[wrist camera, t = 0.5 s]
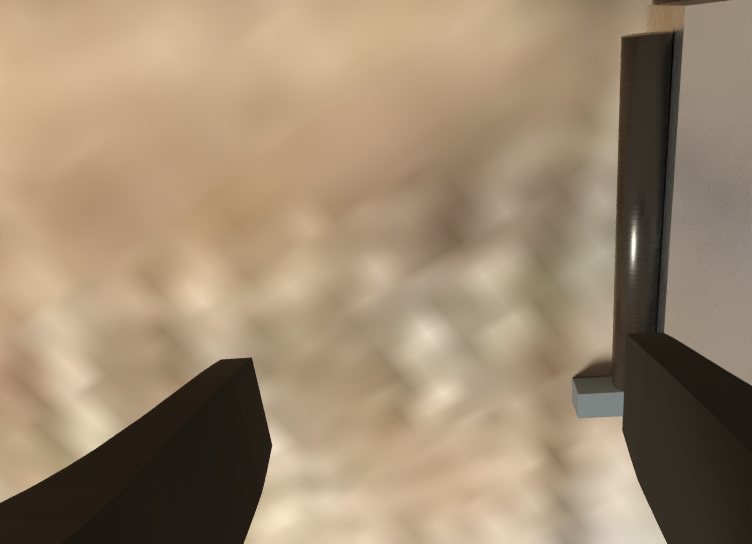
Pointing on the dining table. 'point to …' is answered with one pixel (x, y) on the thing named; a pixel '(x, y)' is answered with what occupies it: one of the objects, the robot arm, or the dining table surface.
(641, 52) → the sliding jaw
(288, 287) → the dining table surface
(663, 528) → the robot arm
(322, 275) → the dining table surface
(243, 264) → the dining table surface
